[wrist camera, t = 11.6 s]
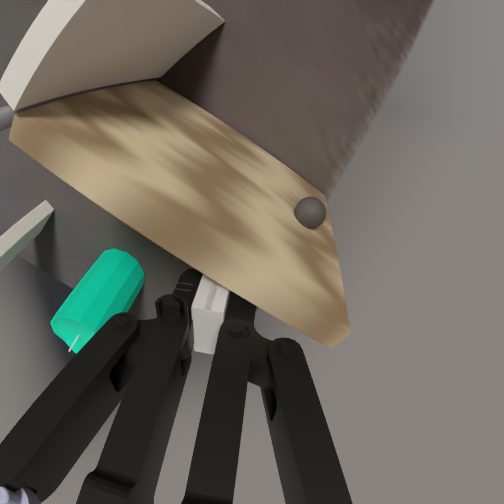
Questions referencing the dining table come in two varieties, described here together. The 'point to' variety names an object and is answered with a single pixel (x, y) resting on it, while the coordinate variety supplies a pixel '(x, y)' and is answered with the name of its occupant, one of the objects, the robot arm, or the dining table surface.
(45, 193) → the dining table surface
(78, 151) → the door
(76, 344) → the candle
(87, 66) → the door frame
